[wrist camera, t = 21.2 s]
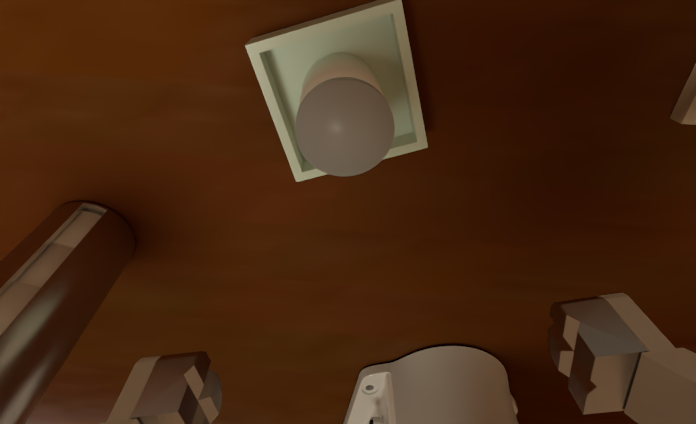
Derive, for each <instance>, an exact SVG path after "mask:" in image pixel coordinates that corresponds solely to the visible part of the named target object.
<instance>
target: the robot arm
mask: <svg viewBox="0 0 696 424" xmlns="http://www.w3.org/2000/svg"><path fill="white" fill-rule="evenodd" d="M550 316H551V318H552V319H553V321H554V324H553V325H552V326H551V327H550V328H549V329H548V337H547V341H548V346H549V352H550V354H551V357H552V359H553V362H554V363H555V365H556V367H557V369H558V370H559V371H560V372H562V373H563V374H565V375H566V376H568V377H569V383H568V389H569V391H570V392H571V394H572V396H573V398H574V399H575V401H576V403H577V405H578V406H579V408H580V410H581V412H582V413H583V415H584V414H594V413H605V412H615V411H624V413H625V414H626V415H628V416H629V417H630V418H632V419H633V420H634V421H635V422H637V423H638V424H696V353H693V352H691V351H689V350H687V349H685V348H675V347H674V346H673V345H672V343H671V342H670V341H669V340H668V339H667V338H666V337H665V336H664V335H663V334H662V332H661V331H660V330H659V329H658V328H657V327H656V326H655V325H654V324H653V323H652V321H651V320H650V319H649V318H648V317H647V316H646V315H645V314H644V313H643V312H642V310H641V309H640V308H639V307H638V306H637V305H636V304H635V303H634V302H633V301H632V299H631V298H630V297H629V296H628V295H626V294H624V293H616V294H610V295H603V296H598V297H597V296H595V297H588V298H581V299H575V300H568V301H561V302H554V303H553V305H552V306H551V311H550ZM210 362H211V360H210V359H209V357H208V355H207V353H206V352H203V351H199V352H190V353H181V354H172V355H163V356H157V357H148V358H141V359H140V360H139V361H138V362H137V363H136V364H135V365H134V367H133V369H132V371H131V373H130V376H129V378H128V380H127V382H126V384H125V386H124V388H123V390H122V392H121V394H120V396H119V398H118V400H117V402H116V404H115V406H114V408H113V410H112V412H111V414H110V416H109V418H108V420H107V422H105V423H100V424H210V423H211V422H212V421H213V420H214V419H215V418H216V417H217V416H218V414H219V411H220V407H221V402H222V388H221V383H220V380H219V377H218V375H217V373H215V372H213V371H212V370H210V369H209V366H210ZM517 413H518V409H517V405H516V402H515V400H514V398H513V397H512V395H511V394H510V390H509V383H508V376H507V372H506V370H505V368H504V366H503V365H502V364H501V362H500V361H499V360H497V359H496V358H495V357H493V356H492V355H490V354H488V353H486V352H484V351H481V350H478V349H475V348H470V347H463V346H442V347H434V348H429V349H425V350H421V351H418V352H415V353H413V354H410V355H408V356H406V357H404V358H401V359H399V360H397V361H394V362H391V363H386V364H380V365H374V366H370V367H367V368H365V369H363V370H362V371H361V372H360V374H359V377H358V380H357V383H356V386H355V389H354V392H353V396H352V399H351V402H350V405H349V408H348V411H347V414H346V417H345V420H344V423H343V424H518V421H517V418H516V414H517Z"/></svg>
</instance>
